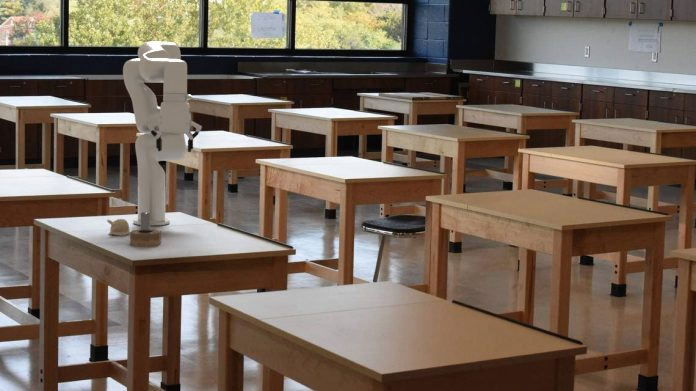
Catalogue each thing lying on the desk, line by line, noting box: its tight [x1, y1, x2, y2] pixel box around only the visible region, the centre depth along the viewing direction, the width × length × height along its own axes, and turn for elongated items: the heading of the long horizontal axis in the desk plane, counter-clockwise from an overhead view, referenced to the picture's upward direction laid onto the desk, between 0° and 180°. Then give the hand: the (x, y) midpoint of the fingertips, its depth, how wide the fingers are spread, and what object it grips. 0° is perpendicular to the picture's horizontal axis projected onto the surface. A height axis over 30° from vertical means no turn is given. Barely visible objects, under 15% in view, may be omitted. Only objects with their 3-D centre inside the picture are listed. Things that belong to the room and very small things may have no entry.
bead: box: [129, 228, 162, 248], centre depth 369 cm, size 9×9×4 cm
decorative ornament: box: [106, 218, 131, 236], centre depth 385 cm, size 4×8×5 cm, turn 123°
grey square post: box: [140, 212, 151, 233], centre depth 368 cm, size 3×3×10 cm
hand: (174, 151), depth 379 cm, fingers open, 9 cm apart
